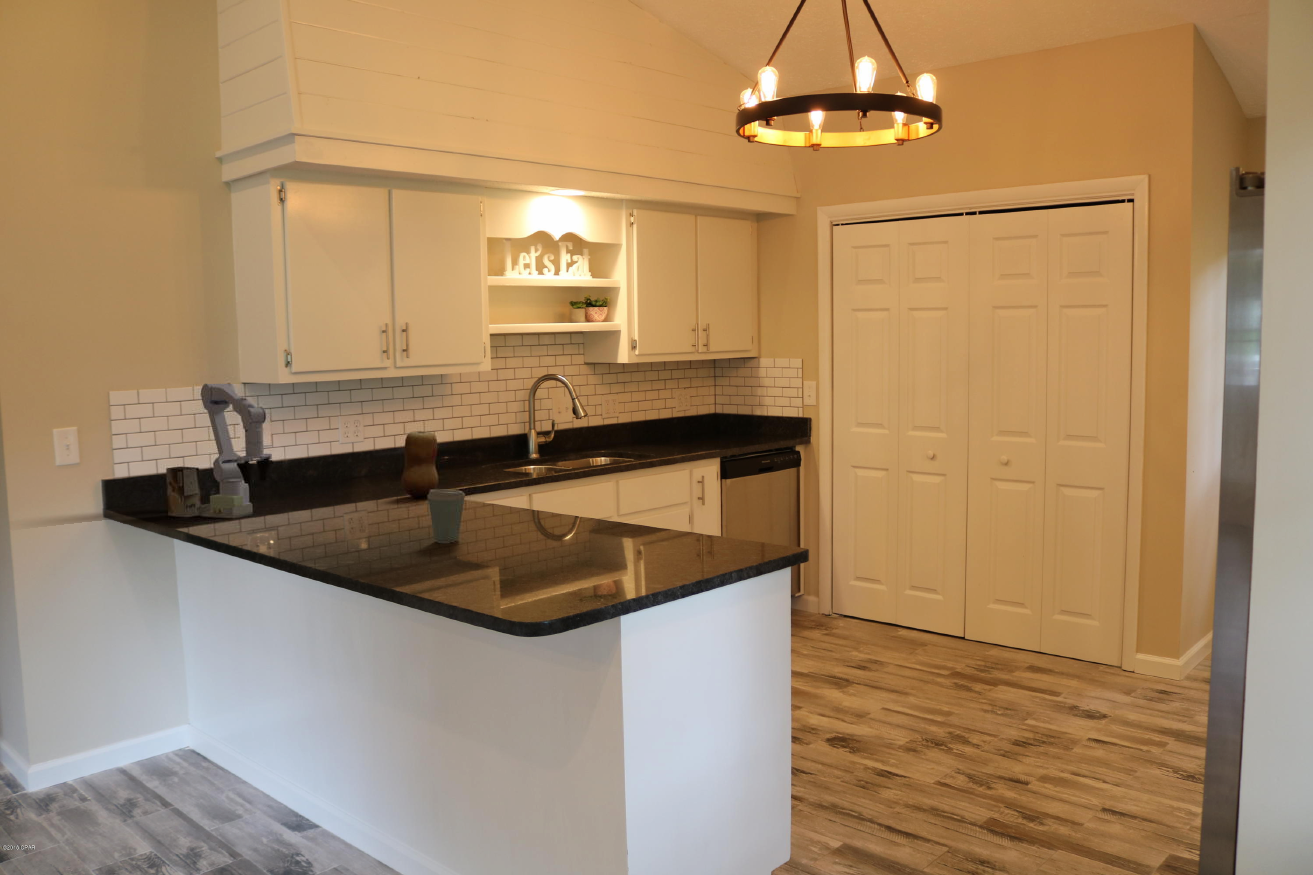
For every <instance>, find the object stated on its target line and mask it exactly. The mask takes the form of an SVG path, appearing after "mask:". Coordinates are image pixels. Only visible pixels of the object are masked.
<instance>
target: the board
mask: <svg viewBox="0 0 1313 875" xmlns="http://www.w3.org/2000/svg"><path fill="white" fill-rule="evenodd" d="M209 504H210V508H219V509H222V510H230V508H231V507H236V506H241V505H243V496H236V495H220V494H214V495H210V496H209Z"/></svg>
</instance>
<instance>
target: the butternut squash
mask: <svg viewBox="0 0 1313 875" xmlns="http://www.w3.org/2000/svg"><path fill="white" fill-rule="evenodd" d="M403 450H404V451H403V452H404V453H403V454H404V470H403V472H402V475H401V479H400V483H401V487H402V488H403V490H404V492H405V493H407V494H408V495H409V496H410V497H411V498H412V497H413V498H412V499H417V498H418V499H419V498H426V497H428V494H429V491H430V490H436V489H437V487H438V484H439V475H438V472H437V469H436V459H437V454H438V453H437V452H438V440H437V436H436V434H435V433H433V432H430V431H423V430H412V431H410V432H409V433H407V435H406V437H405V439H404V449H403Z"/></svg>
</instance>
